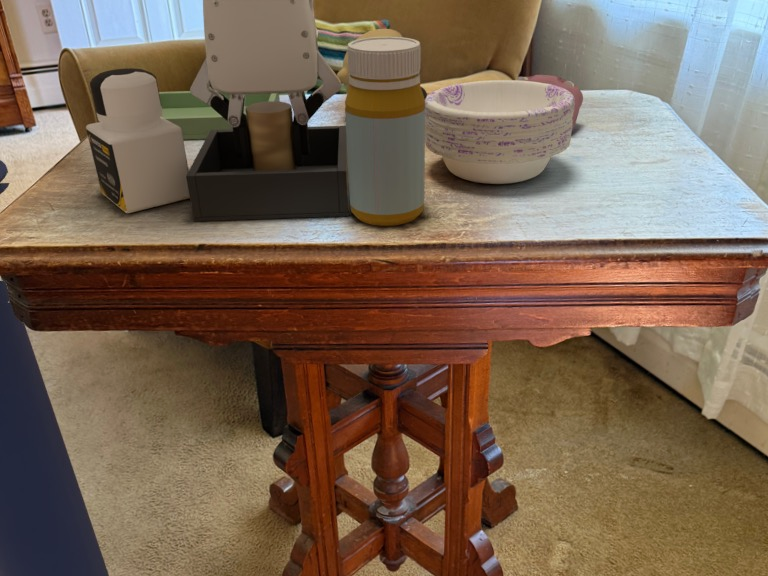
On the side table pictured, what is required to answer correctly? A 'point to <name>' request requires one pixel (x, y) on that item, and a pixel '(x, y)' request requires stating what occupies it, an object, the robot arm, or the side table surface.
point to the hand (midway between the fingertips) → (274, 161)
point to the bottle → (385, 130)
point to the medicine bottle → (135, 142)
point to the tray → (200, 112)
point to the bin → (270, 181)
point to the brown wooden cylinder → (271, 136)
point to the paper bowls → (498, 128)
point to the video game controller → (563, 84)
